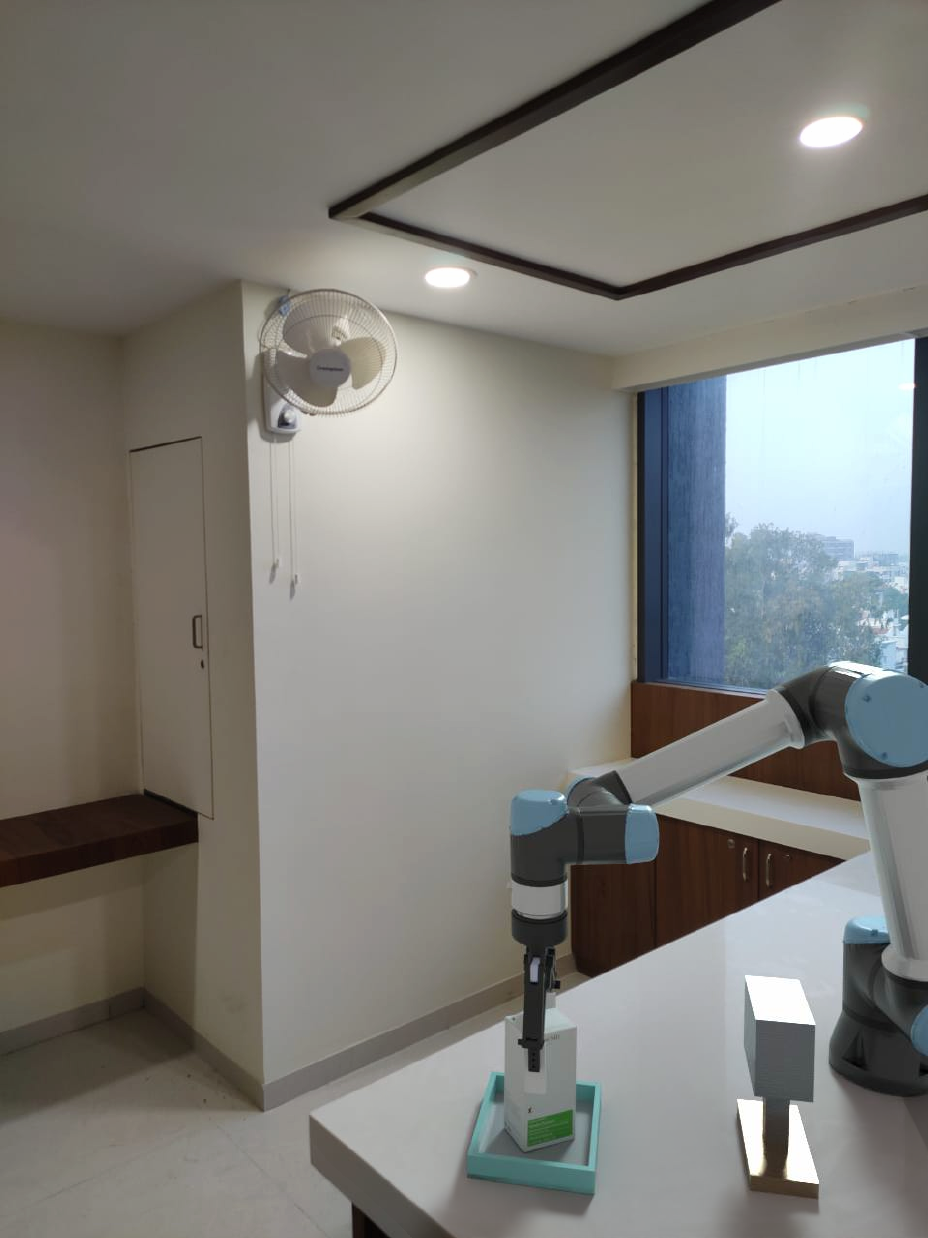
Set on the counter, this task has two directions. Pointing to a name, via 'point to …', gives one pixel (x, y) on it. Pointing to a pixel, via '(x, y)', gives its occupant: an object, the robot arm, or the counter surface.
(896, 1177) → the counter surface
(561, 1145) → the tray
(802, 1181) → the mounted unit
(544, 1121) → the skincare box
